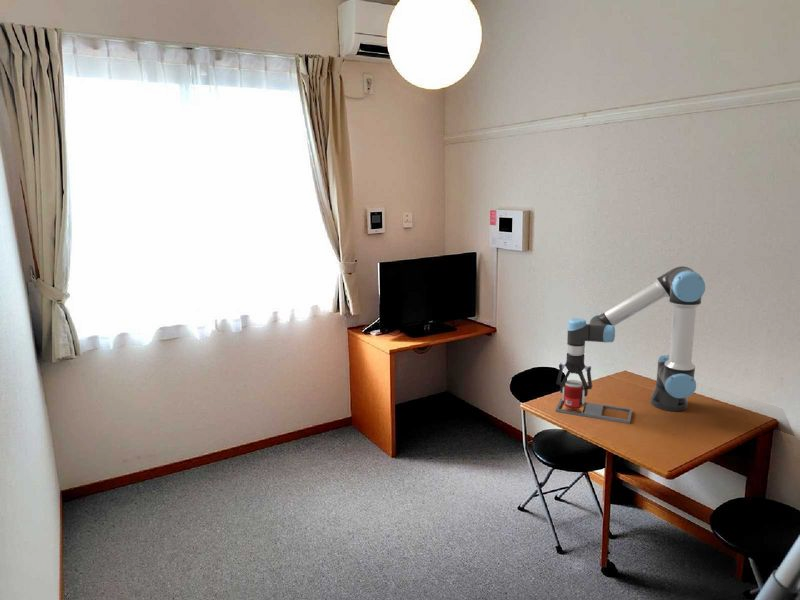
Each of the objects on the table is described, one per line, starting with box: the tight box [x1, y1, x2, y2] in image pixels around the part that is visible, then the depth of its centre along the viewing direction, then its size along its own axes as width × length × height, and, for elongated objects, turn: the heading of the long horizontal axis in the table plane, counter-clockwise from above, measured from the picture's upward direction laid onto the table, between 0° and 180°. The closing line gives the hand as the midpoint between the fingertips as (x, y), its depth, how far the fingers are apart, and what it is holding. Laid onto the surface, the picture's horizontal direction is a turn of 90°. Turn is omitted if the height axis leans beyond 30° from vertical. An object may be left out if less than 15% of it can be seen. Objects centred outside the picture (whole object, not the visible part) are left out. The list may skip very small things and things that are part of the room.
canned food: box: [563, 379, 584, 409], centre depth 248 cm, size 8×8×11 cm
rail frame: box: [555, 398, 633, 425], centre depth 245 cm, size 31×13×1 cm, turn 64°
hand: (573, 400), depth 248 cm, fingers closed on canned food, 8 cm apart
